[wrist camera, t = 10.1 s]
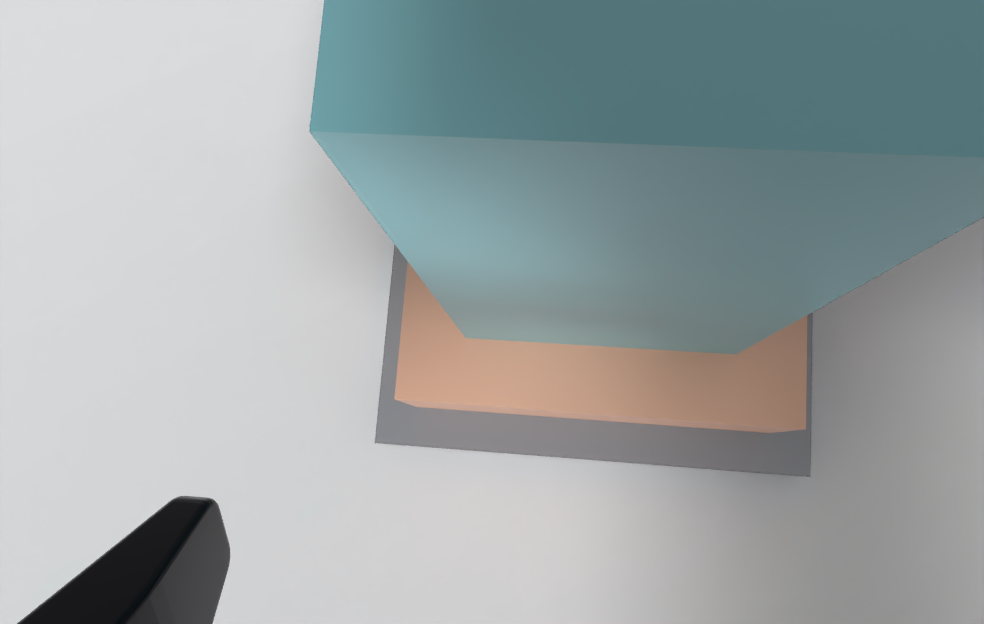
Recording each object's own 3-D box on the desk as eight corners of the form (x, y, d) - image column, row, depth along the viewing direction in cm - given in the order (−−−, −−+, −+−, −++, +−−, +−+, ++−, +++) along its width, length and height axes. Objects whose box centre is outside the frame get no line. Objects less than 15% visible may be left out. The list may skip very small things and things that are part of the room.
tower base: (798, 475, 21) (853, 480, 17) (383, 443, 22) (345, 440, 18) (804, 80, 23) (854, 3, 19) (419, 65, 24) (393, -11, 20)
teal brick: (736, 354, 18) (1083, 162, 6) (465, 338, 18) (308, 131, 7) (741, 98, 19) (1049, -490, 7) (484, 89, 19) (378, -472, 8)
